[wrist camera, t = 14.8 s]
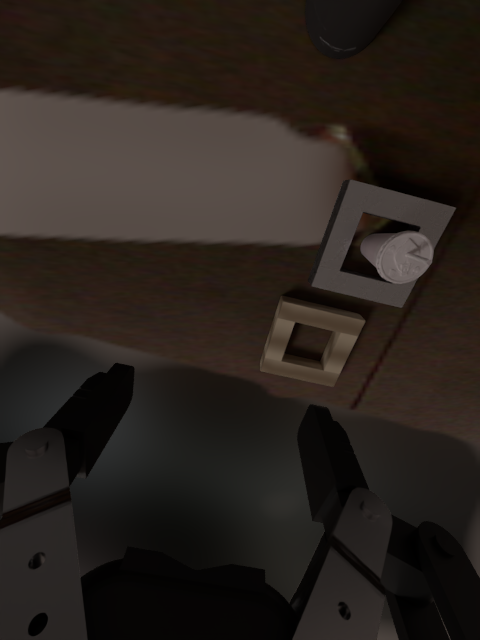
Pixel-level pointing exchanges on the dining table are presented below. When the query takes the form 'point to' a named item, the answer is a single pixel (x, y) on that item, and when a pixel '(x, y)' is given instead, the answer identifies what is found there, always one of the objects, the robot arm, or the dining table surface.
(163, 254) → the dining table surface
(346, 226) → the ring
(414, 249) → the smoothie
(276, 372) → the socket block
